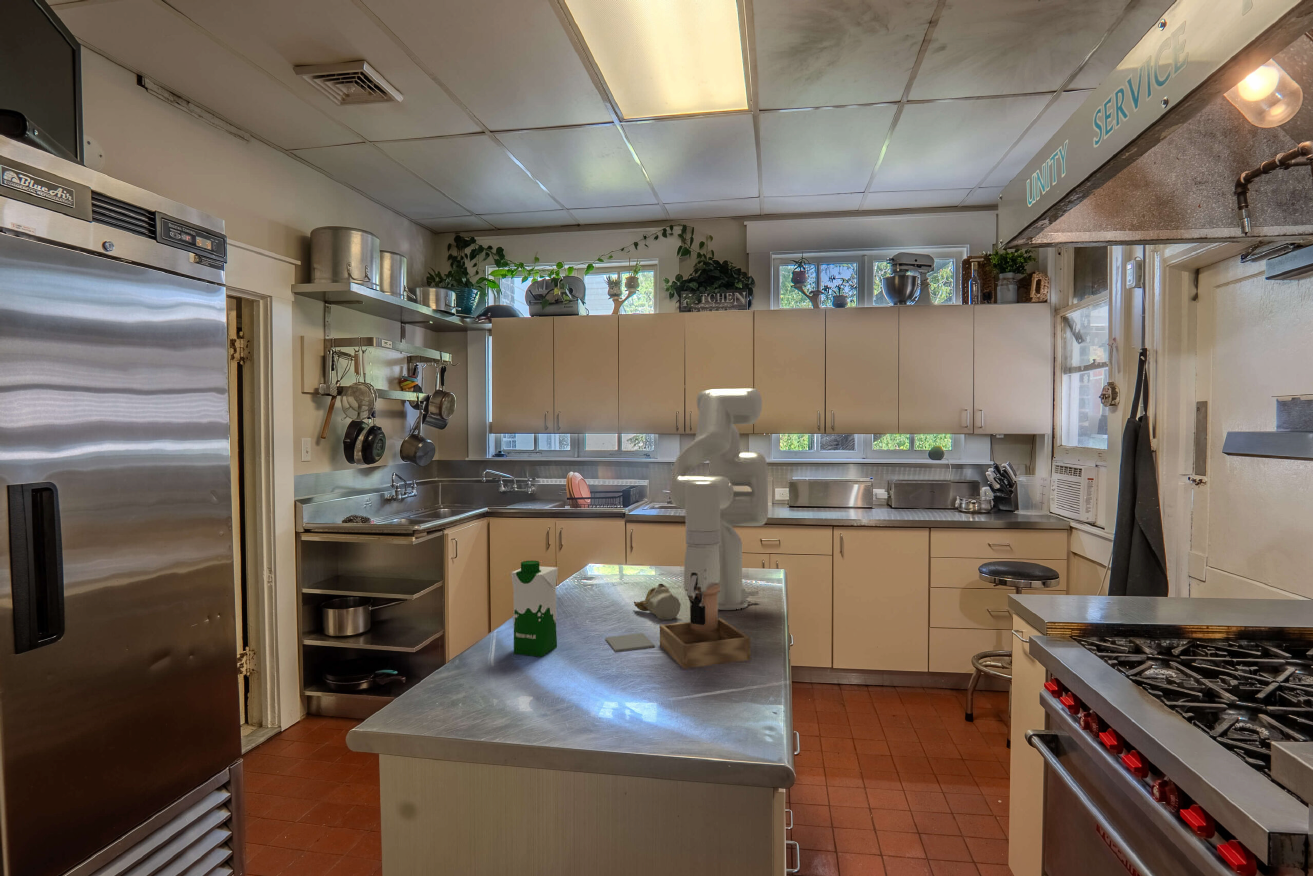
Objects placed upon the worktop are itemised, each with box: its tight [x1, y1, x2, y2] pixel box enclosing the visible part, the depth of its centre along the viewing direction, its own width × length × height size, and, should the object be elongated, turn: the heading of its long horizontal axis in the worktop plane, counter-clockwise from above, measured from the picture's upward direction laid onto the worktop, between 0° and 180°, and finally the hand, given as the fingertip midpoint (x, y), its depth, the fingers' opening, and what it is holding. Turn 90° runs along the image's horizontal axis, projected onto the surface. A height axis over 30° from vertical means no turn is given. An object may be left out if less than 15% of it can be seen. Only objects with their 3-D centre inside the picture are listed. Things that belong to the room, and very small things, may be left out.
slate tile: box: [605, 632, 656, 653], centre depth 147 cm, size 9×9×1 cm
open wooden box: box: [659, 618, 752, 669], centre depth 141 cm, size 15×15×5 cm
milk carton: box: [510, 560, 559, 658], centre depth 144 cm, size 9×9×20 cm
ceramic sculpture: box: [633, 583, 682, 621], centre depth 171 cm, size 11×9×15 cm
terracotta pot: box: [689, 583, 720, 631], centre depth 141 cm, size 7×7×9 cm
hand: (703, 618), depth 142 cm, fingers closed on terracotta pot, 6 cm apart
